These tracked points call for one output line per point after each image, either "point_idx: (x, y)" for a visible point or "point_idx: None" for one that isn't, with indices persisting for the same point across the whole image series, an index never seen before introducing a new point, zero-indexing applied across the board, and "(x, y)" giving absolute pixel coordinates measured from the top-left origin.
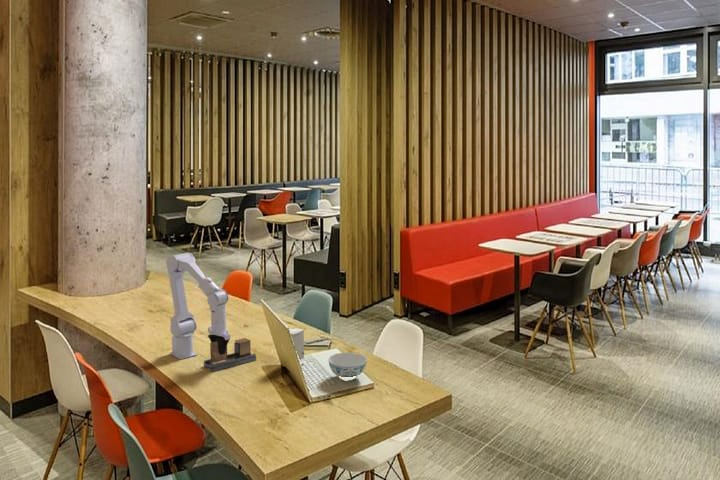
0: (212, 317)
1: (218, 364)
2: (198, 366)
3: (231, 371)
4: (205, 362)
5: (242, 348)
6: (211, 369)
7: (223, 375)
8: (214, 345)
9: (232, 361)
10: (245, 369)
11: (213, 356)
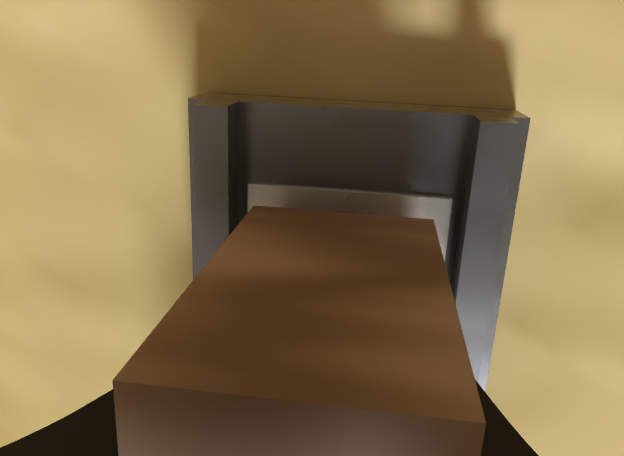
0: None
1: (196, 208)
2: (578, 41)
3: (75, 271)
4: (476, 125)
5: None
6: (259, 97)
7: (7, 120)
8: (157, 376)
9: None
10: (40, 411)
11: (312, 239)
